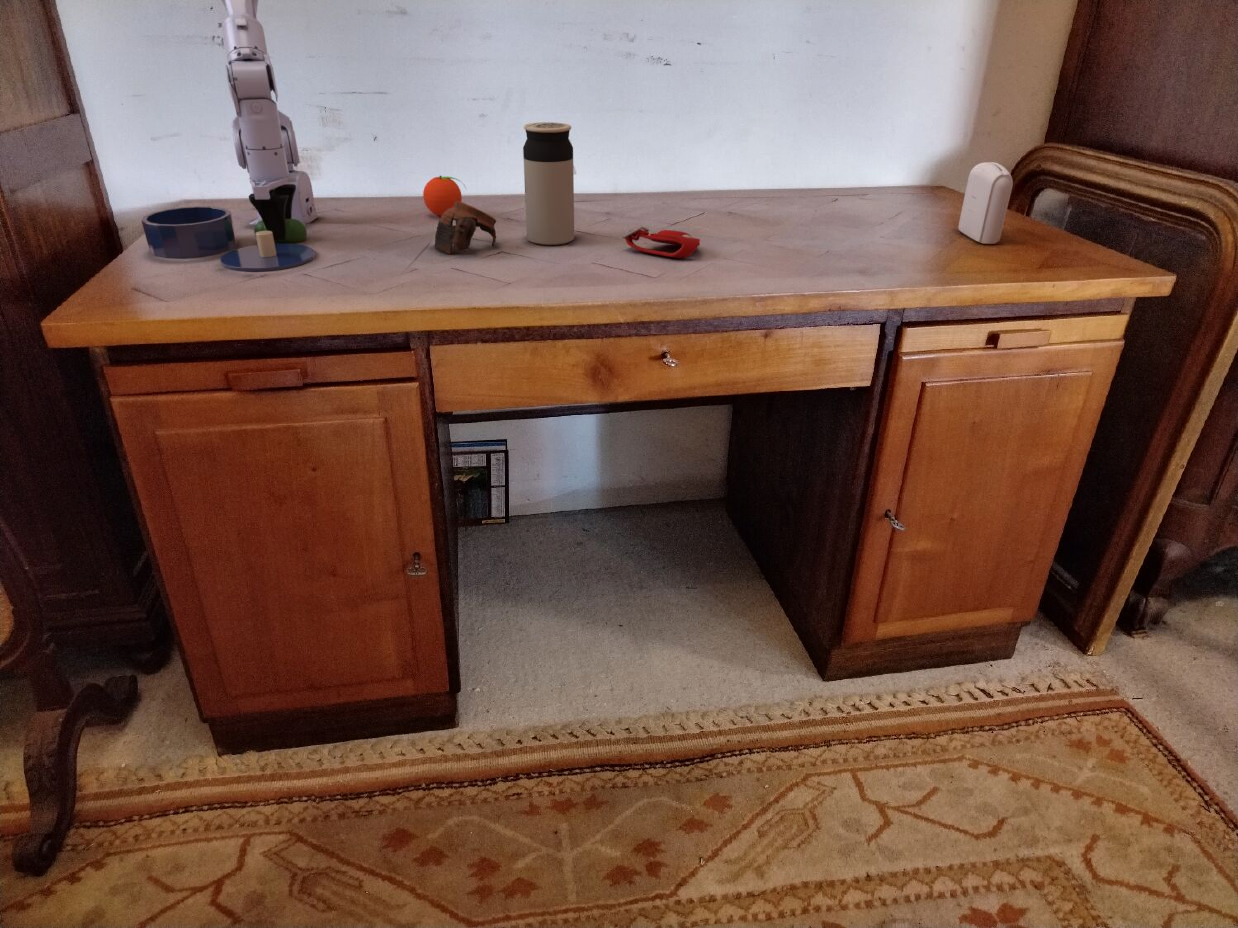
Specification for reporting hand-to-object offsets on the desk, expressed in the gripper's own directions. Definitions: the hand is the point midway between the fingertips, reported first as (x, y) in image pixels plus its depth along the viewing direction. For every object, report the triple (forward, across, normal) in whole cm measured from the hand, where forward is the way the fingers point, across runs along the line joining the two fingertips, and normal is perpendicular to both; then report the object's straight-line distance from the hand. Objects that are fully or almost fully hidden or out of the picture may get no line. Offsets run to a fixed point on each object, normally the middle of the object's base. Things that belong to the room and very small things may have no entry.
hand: (281, 235), depth 134 cm
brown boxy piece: (+2, -6, -30) cm, 30 cm away
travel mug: (+2, -1, -44) cm, 44 cm away
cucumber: (+1, 0, 0) cm, 1 cm away
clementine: (+2, +17, -26) cm, 31 cm away
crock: (+1, -3, +13) cm, 13 cm away
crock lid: (+1, -10, 0) cm, 10 cm away
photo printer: (+2, -7, -118) cm, 118 cm away
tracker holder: (+2, -10, -61) cm, 62 cm away
